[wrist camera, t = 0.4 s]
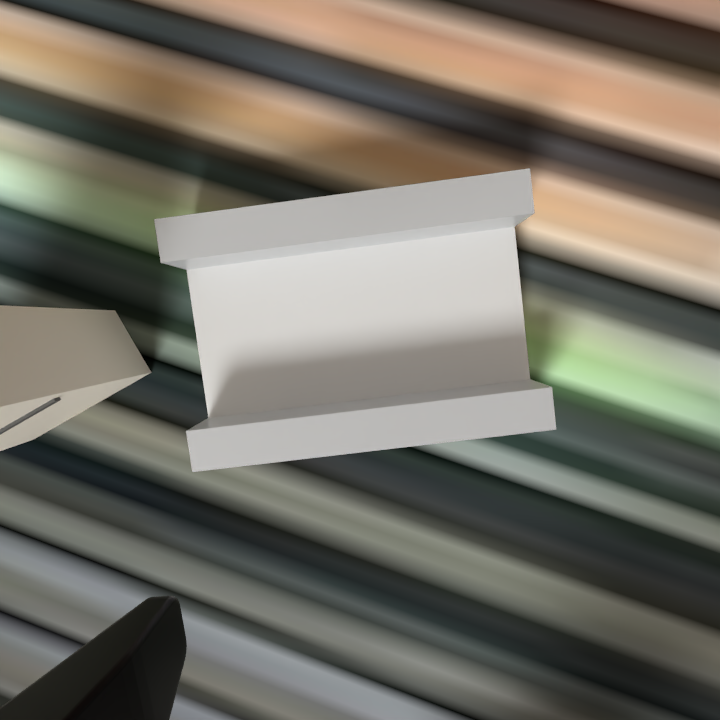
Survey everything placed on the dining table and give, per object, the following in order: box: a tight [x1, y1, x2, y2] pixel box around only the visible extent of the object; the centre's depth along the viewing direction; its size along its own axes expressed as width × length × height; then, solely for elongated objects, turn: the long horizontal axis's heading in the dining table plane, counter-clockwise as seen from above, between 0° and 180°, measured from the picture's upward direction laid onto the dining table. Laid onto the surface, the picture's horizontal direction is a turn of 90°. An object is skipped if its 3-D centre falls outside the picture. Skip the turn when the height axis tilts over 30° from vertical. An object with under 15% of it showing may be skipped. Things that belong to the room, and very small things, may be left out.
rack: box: [154, 168, 556, 472], centre depth 20 cm, size 13×9×4 cm
